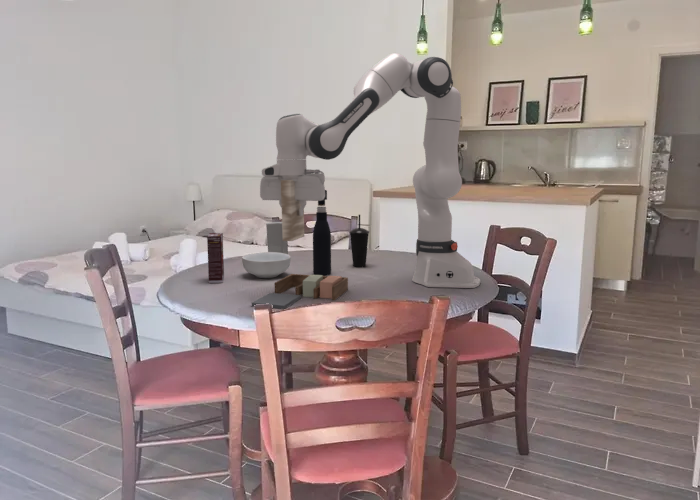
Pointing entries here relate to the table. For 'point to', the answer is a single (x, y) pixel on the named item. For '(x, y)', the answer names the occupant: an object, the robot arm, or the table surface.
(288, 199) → the beige mottled block
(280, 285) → the offcut rack
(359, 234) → the drinking cup
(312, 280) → the sage offcut
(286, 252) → the skincare box
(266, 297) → the slate mat
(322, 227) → the wine bottle
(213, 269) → the supplement box
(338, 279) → the terracotta offcut
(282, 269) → the cereal bowl
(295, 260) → the table surface
